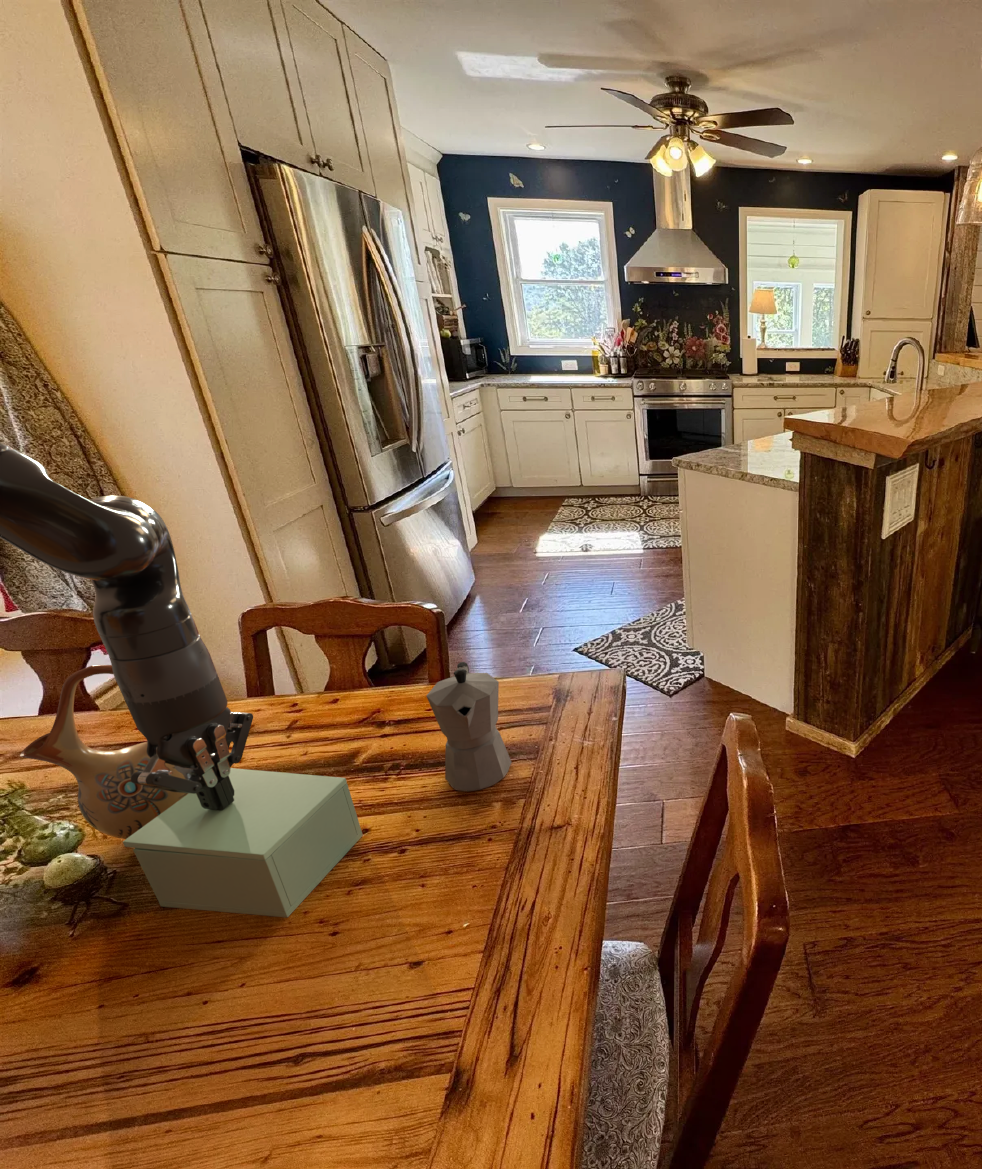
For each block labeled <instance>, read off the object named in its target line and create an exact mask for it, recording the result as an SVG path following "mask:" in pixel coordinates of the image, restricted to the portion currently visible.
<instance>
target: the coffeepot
mask: <svg viewBox="0 0 982 1169" xmlns="http://www.w3.org/2000/svg"><path fill="white" fill-rule="evenodd" d="M499 684H500V682H499V680H497V679H496V678H494V677H493V676H492V675H490V674H489V673H488V672H470V670H469V664H468V663H467V662H465V661H460V662H458V663H457V665H456V670H455V671H453V676H451V677H448V678H445V679H442V680H440V681H437V682H436V683H435V684H434V686H433V687H432V688H431V689H430V690H429V692H428V693H427V694H426V699H427V701H428V703H429V705H430V708H431V710H432V712H433V715H434V717H435V720H436V721H437V724H438V727H439V730H440V731H441V733H442V734H443V735H444V736H445V737H446V743H445V752H444V753H445V758H444V759H445V762H444V763H445V764H444V765H445V766H444V767H445V770H444V779H445V780H446V781H447V783H448V784H449V786H450V787H451V788H453V789H454V790H455V791H461V792H475V791H480V790H484V789H487V788H489V787H491V786H494V785H496V784H498V782H500V781H502V780H503V779H504V778H505V777H506V775H508V773H509V770H510V768H511V765H512V763H513V762H512V759H511V757H510V755H509V753H508V752H509V751H508V750H507V748H506V745H505V743H504V740H503V737H502V735H501V733H500V731H499V730H498V729H497V723H498V721H499V688H500V687H499V686H500V685H499Z"/></svg>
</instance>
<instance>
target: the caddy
mask: <svg viewBox="0 0 982 1169" xmlns="http://www.w3.org/2000/svg"><path fill="white" fill-rule="evenodd" d="M363 836H364V834H363V831H362V828H361V825H360V821H359V817H358V815H357V812H356V808H355V805H354V802H353V798H352V794H351V791H350V788H349V784H348V782H347V783H346V784H345V785H344V786H343V787H342V788H341V789H340V790H339V791H338V792H337V793H336V794H334V795H333V796H332V797H331V798H330V799H329V800H328V801H327V802H326V803H325V804H324V805H323V806H322V807H321V808H320V809H319V810H318V811H316V812H315V813H314V814H313V815H312V816H311V817H310V818H309V819H308V820H307V821H306V822H305V823H304V824H303V825H302V826H301V827H300V828H299V829H297V830H296V831H295V832H294V833H293V834H292V835H291V836H290V837H289V838H288V839H287V840H286V841H285V842H284V843H283V844H282V845H281V846H279V847H278V848H277V849H276V850H275V851H274V852H273V853H272V854H271V855H270V856H269V857H268V858H267V859H266V860H258V859H247V858H237V857H226V856H216V855H205V854H194V853H184V852H173V851H163V850H152V849H141V848H132V851H133V854H134V855H135V857H136V859H137V861H138V863H139V865H140V867H141V869H142V871H143V874H144V875H145V877H146V879H147V882H148V883H149V885H150V888H151V889H152V892H153V894H154V895H155V897H156V899H157V902H158V903H159V905H160V907H163V908H176V909H187V910H197V911H207V912H209V911H210V912H219V913H220V912H221V913H231V914H241V915H242V914H243V915H253V916H265V917H274V918H275V917H276V918H289V917H290V915H291V914H292V913H293V912H294V911H295V910H296V909H297V908H298V907H299V906H300V905H301V904H302V903H303V902H304V900H306V899H307V897H308V896H309V895H310V894H311V893H312V892H313V890H314V889H316V887H317V886H318V885H319V884H320V883H321V882H322V881H323V880H324V879H325V877H327V875H328V874H329V873H330V872H331V871H332V870H333V869H334V867H335V866H336V865H338V863H339V862H340V861H341V860H342V859H343V858H344V857H345V856H346V855H347V853H348V852H350V851H351V849H352V848H353V847H354V846H355V845H356V844H357V842H359V840H360V839H361V838H362V837H363Z"/></svg>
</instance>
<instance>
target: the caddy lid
mask: <svg viewBox="0 0 982 1169" xmlns="http://www.w3.org/2000/svg"><path fill="white" fill-rule="evenodd" d="M228 776H229V778H230V781H231V783H232V786H233V788H234V796H233V798H234V802H232V803H231V804H230V805H229V806H227V807H226V808H225V809H224V810H222V811H220V810H210V809H204V808H203V807H202V806H201V804H200V801H199V799H198V797H197V794H196V793H195V794H192V793H189V794H187V795H186V796H185V797H183V798H182V799H180V800H179V801H178V802H176V803H175V804H174V805H172V806H171V807H169V808H168V809H167V810H165V811H164V812H163V813H161V814H160V815H158V816H157V817H156V818H154V819H153V820H152V821H150V822H149V823H148V824H146V825H145V826H143V827H142V828H141V829H139V830H138V831H137V832H135V833H134V834H132V835H131V836H130V837H128V838H127V839H123V840H122V844H123V846H124V847H125V848H132V849H134V848H141V849H152V850H163V851H173V852H184V853H194V854H205V855H216V856H226V857H237V858H247V859H258V860H266V859H267V858H268V857H269V856H270V855H271V854H272V853H273V852H274V851H275V850H276V849H277V848H278V847H279V846H281V845H282V844H283V843H284V842H285V841H286V840H287V839H288V838H289V837H290V836H291V835H292V834H293V833H294V832H295V831H296V830H297V829H299V828H300V827H301V826H302V825H303V824H304V823H305V822H306V821H307V820H308V819H309V818H310V817H311V816H312V815H313V814H314V813H315V812H316V811H318V810H319V809H320V808H321V807H322V806H323V805H324V804H325V803H326V802H327V801H328V800H329V799H330V798H331V797H332V796H333V795H334V794H336V793H337V792H338V791H339V790H340V789H341V788H342V787H343V786H344V785H345V784H346V783H347V784H348V782H347V778H346V777H337V776H326V775H316V774H305V773H304V774H303V773H293V772H292V773H291V772H281V771H280V772H279V771H270V770H257V769H246V768H235V767H230V774H229V775H228Z"/></svg>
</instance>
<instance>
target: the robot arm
mask: <svg viewBox="0 0 982 1169" xmlns="http://www.w3.org/2000/svg"><path fill="white" fill-rule="evenodd" d="M0 539H1V540H3V541H5V542H6V543H8V544H10V545H11V546H13V547H15V548H17V549H19V550H20V551H22V552H24V553H25V554H27V555H28V556H31V557H32V558H34V559H36V560H38V561H39V562H42V563H43V564H45V565H47V566H49V567H51V568H53V569H55V570H58V571H61V572H63V573H65V574H69V575H71V576H75V577H78V578H83V579H86V580H91V583H92V586H93V589H94V594H95V598H94V603H93V607H92V618H93V622H94V625H95V629H96V630H97V633H98V636H99V638H100V639H101V641H102V644H103V646H104V648H105V651H106V653H107V655H108V658H109V660H110V665H112V670H113V674H114V675H113V674H112V675H113V677H114V680H115V681H116V684H117V686H118V688H119V690H120V693H121V695H122V697H123V700H124V702H125V704H126V707H127V708H128V711H129V713H130V716H131V718H132V720H133V722H134V725H135V726H136V728H137V731H138V732H139V733H140V734H141V735H142V736H144V738H145V739H146V742H147V755H148V756H149V757H150V760H149V761H148V763H147V765H146V767H145V768H144V770H143V772H140V771H138V772H135V773H134V774H133V775H132V776H131V782H132V783H135V784H140V785H144V786H149V787H153V788H158V789H162V790H166V791H171V792H179V793H192V794H195V793H196V794H197V797H198V799H199V801H200V804H201V806H202V807H203V808H204V809H210V810H220V811H222V810H224V809H225V808H226V807H227V806H229V805H230V804H231V803H232V802H234V798H233V796H234V788H233V786H232V783H231V781H230V778H229V776H228V775H229V774H230V768H232V766H234V764H238V763H240V762H241V761H242V758H243V754H244V753H245V752H244V751H245V747H246V745H247V741H248V738H249V734H250V731H251V727H252V724H253V720H254V714H253V713H252V712H244V711H231V709H230V708H229V707H228V702H229V701H228V699H227V696H226V693H225V690H224V688H223V684H222V682H221V679H220V676H219V674H218V671H217V669H216V666H215V663H214V661H213V659H212V656H211V653H210V651H209V649H208V647H207V646H206V644H205V642H204V641H203V638H202V637H201V635H200V633H199V630H198V627H197V625H196V621H195V619H194V616H193V614H192V611H191V608H190V606H189V604H188V603H187V601H186V600H187V599H186V598H185V596H184V593H183V590H182V585H181V579H180V573H179V567H178V563H177V562H178V561H177V557H176V552H175V548H174V544H173V540H172V537H171V534H170V531H169V529H168V526H167V525H166V522H165V521H164V520H163V518H162V517H161V515H160V514H159V513H158V512H157V511H156V509H154V508H152V507H151V506H150V505H148V504H147V503H145V502H143V501H141V500H138V499H136V498H133V497H130V496H124V495H115V494H113V495H103V496H98V497H94V498H91V499H87V498H85V497H83V496H81V495H80V494H77V493H76V492H74V491H72V490H70V489H68V488H67V487H64V486H63V485H61V484H60V483H57V482H55V481H54V480H52V479H51V478H50V474H49V471H48V469H47V468H46V467H45V466H44V465H43V464H42V463H40V462H38V460H35V459H34V458H33V457H31V456H29V455H27V454H26V453H23V452H21V451H20V450H17V449H15V448H12V447H11V446H9V445H8V444H7V445H6V444H5V443H3V442H1V441H0ZM231 744H232V747H231ZM230 747H231V750H230ZM165 763H168V764H171V765H174V767H175V768H176V770H177V771H178V772H180V773H182V774H183V776H184V777H185V779H183V778H179V777H175V776H171V775H172V774H173V772H172V771H170V769H169V768H168V767H166V765H165Z"/></svg>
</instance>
